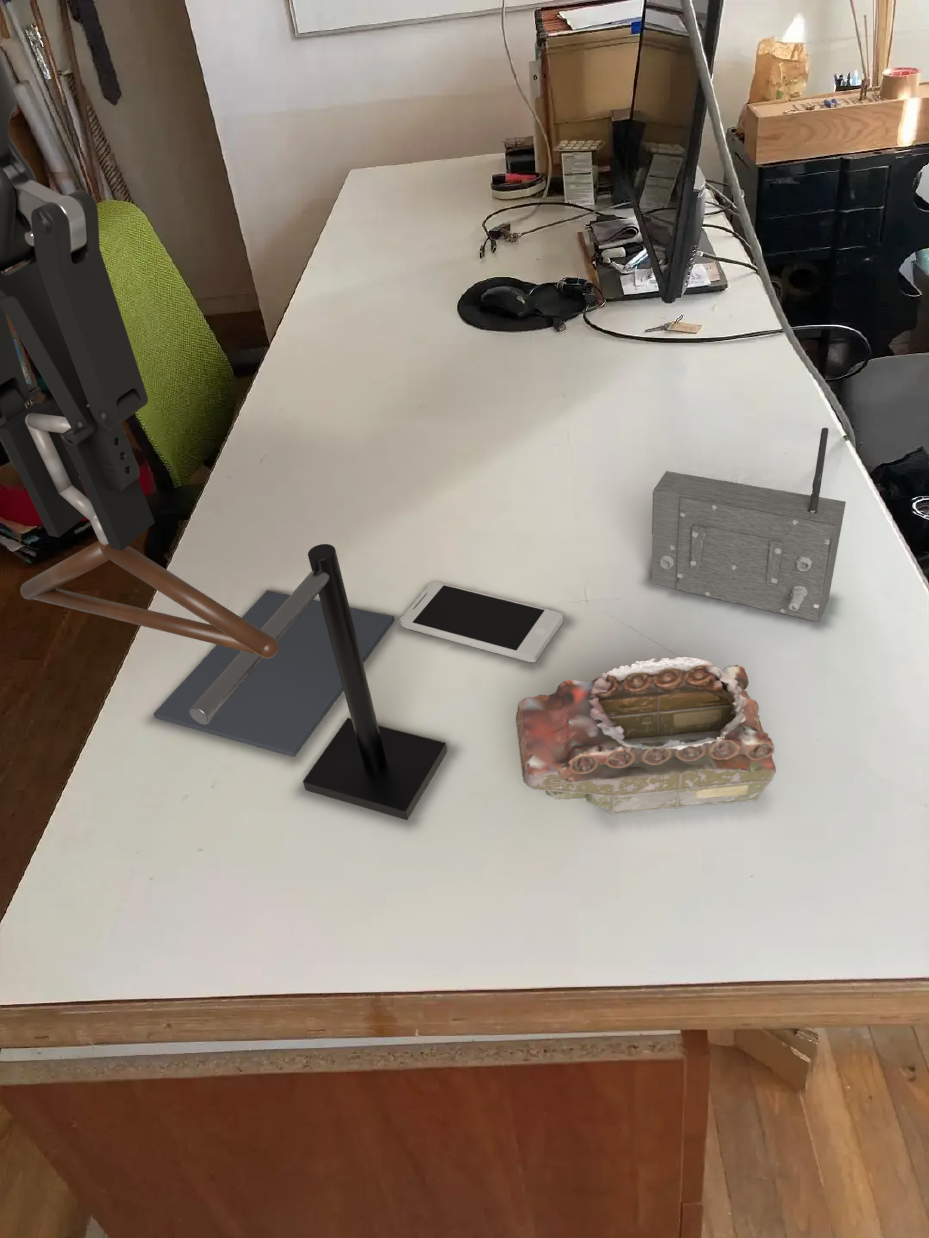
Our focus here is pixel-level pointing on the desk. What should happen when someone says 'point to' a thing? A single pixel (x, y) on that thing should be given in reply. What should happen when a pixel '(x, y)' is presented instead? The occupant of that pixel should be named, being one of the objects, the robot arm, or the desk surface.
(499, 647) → the smartphone
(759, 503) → the electronic device
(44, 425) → the hanger
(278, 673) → the felt mat
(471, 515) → the desk surface
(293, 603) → the rail stand
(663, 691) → the decorative box
